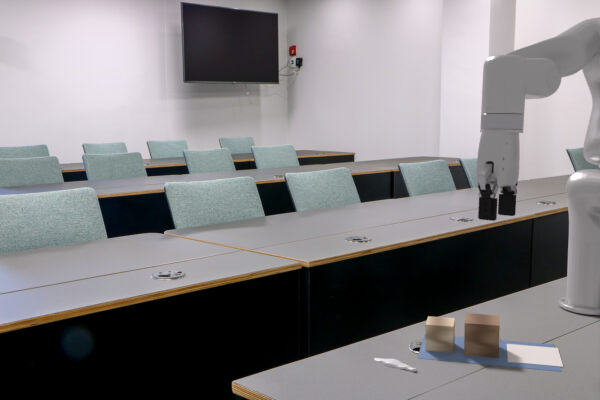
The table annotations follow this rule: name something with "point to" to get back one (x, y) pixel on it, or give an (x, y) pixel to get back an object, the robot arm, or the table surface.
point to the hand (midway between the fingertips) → (497, 217)
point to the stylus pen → (395, 364)
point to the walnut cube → (481, 335)
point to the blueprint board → (503, 355)
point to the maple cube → (440, 334)
